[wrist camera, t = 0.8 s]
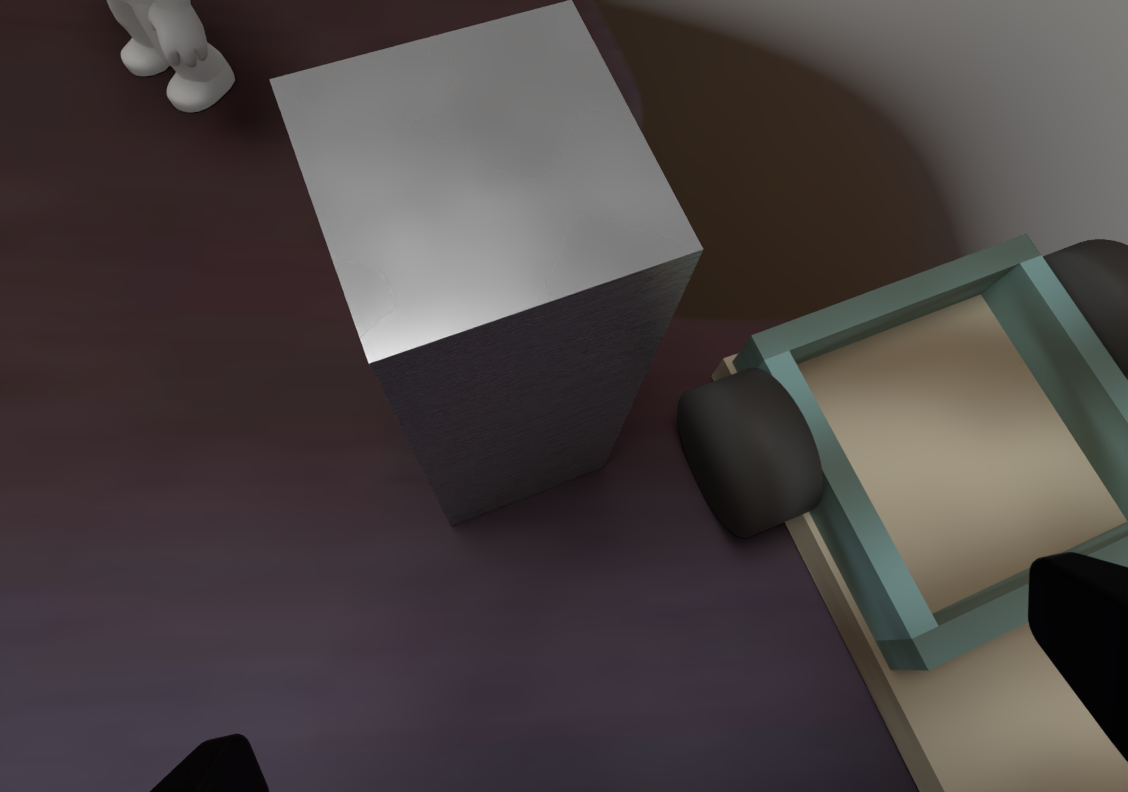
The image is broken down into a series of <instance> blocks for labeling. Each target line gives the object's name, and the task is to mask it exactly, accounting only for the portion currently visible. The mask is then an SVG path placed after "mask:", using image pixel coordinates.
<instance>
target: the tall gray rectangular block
mask: <svg viewBox="0 0 1128 792" xmlns="http://www.w3.org/2000/svg"><path fill="white" fill-rule="evenodd" d="M269 80H270V83H271V86H272V88H273V91H274V94H275V97H276V100H277V103H278V106H279V108H280V111H281V114H282V117H283V120H284V123H285V126H286V128H287V131H288V134H289V137H290V140H291V143H292V146H293V148H294V151H295V154H296V157H297V160H298V163H299V166H300V168H301V171H302V174H303V177H304V180H305V183H306V186H307V188H308V191H309V194H310V197H311V200H312V203H313V206H314V208H315V211H316V214H317V217H318V220H319V223H320V226H321V228H322V231H323V234H324V237H325V240H326V243H327V246H328V248H329V251H330V254H331V257H332V260H333V263H334V266H335V268H336V271H337V274H338V277H339V280H340V283H341V286H342V289H343V291H344V294H345V297H346V300H347V303H348V306H349V309H350V311H351V314H352V317H353V320H354V323H355V326H356V329H357V331H358V334H359V337H360V340H361V343H362V346H363V349H364V351H365V354H366V357H367V360H368V363H369V365H370V367H371V369H372V371H373V373H374V375H375V377H376V379H377V381H378V383H379V385H380V387H381V389H382V391H383V393H384V395H385V397H386V399H387V401H388V403H389V405H390V407H391V409H392V411H393V413H394V415H395V417H396V419H397V421H398V423H399V425H400V427H401V429H402V431H403V433H404V435H405V436H406V438H407V440H408V442H409V444H410V446H411V448H412V450H413V452H414V454H415V456H416V458H417V460H418V462H419V464H420V466H421V468H422V470H423V472H424V474H425V476H426V478H427V480H428V482H429V484H430V486H431V488H432V490H433V492H434V494H435V496H436V498H437V500H438V502H439V504H440V506H441V508H442V510H443V512H444V514H445V516H446V518H447V520H448V522H449V524H450V526H451V527H452V526H454V525H457V524H459V523H462V522H464V521H467V520H470V519H472V518H475V517H477V516H480V515H482V514H485V513H487V512H490V511H493V510H495V509H498V508H500V507H503V506H505V505H508V504H511V503H513V502H516V501H518V500H521V499H523V498H526V497H528V496H531V495H534V494H536V493H539V492H541V491H544V490H546V489H549V488H551V487H554V486H557V485H559V484H562V483H564V482H567V481H569V480H572V479H575V478H577V477H580V476H582V475H585V474H587V473H590V472H592V471H595V470H598V469H600V468H603V467H604V465H605V463H606V461H607V459H608V457H609V454H610V452H611V450H612V448H613V446H614V444H615V441H616V439H617V437H618V435H619V433H620V430H621V428H622V426H623V424H624V422H625V419H626V417H627V415H628V413H629V411H630V408H631V406H632V404H633V402H634V400H635V398H636V395H637V393H638V391H639V389H640V387H641V384H642V382H643V380H644V378H645V376H646V373H647V371H648V369H649V367H650V365H651V362H652V360H653V358H654V356H655V354H656V351H657V349H658V347H659V345H660V343H661V341H662V338H663V336H664V334H665V332H666V330H667V327H668V325H669V323H670V321H671V319H672V316H673V314H674V312H675V310H676V308H677V305H678V303H679V301H680V299H681V297H682V294H683V292H684V290H685V288H686V286H687V283H688V281H689V279H690V277H691V275H692V273H693V270H694V268H695V266H696V264H697V262H698V259H699V257H700V255H701V253H702V251H703V248H702V246H701V244H700V242H699V241H698V239H697V237H696V235H695V233H694V231H693V230H692V227H691V225H690V224H689V222H688V220H687V218H686V216H685V214H684V212H683V210H682V208H681V206H680V205H679V203H678V201H677V199H676V197H675V195H674V193H673V191H672V190H671V187H670V186H669V184H668V182H667V180H666V178H665V176H664V174H663V172H662V170H661V169H660V167H659V165H658V163H657V161H656V159H655V157H654V155H653V154H652V151H651V150H650V148H649V146H648V144H647V142H646V140H645V138H644V136H643V134H642V133H641V131H640V129H639V127H638V125H637V123H636V121H635V119H634V117H633V115H632V114H631V112H630V110H629V108H628V106H627V104H626V102H625V100H624V98H623V97H622V95H621V93H620V91H619V89H618V87H617V85H616V83H615V81H614V79H613V78H612V76H611V74H610V72H609V70H608V68H607V66H606V64H605V62H604V61H603V59H602V57H601V55H600V53H599V51H598V49H597V47H596V45H595V43H594V42H593V40H592V38H591V36H590V34H589V32H588V30H587V28H586V26H585V25H584V23H583V21H582V19H581V17H580V15H579V13H578V11H577V9H576V7H575V6H574V4H573V2H572V0H569V1H565V2H561V3H557V4H554V5H550V6H546V7H542V8H538V9H535V10H531V11H527V12H523V13H519V14H516V15H512V16H508V17H504V18H500V19H497V20H493V21H489V22H485V23H482V24H478V25H474V26H470V27H466V28H463V29H459V30H455V31H451V32H447V33H444V34H440V35H436V36H432V37H428V38H425V39H421V40H417V41H413V42H409V43H406V44H402V45H398V46H394V47H391V48H387V49H383V50H379V51H375V52H372V53H368V54H364V55H360V56H356V57H353V58H349V59H345V60H341V61H337V62H334V63H330V64H326V65H322V66H318V67H315V68H311V69H307V70H303V71H299V72H296V73H292V74H288V75H284V76H281V77H277V78H273V79H269Z"/></svg>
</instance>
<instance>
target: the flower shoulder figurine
mask: <svg viewBox="0 0 1128 792" xmlns="http://www.w3.org/2000/svg"><path fill="white" fill-rule="evenodd" d="M107 3H108V5H109V8H110V9H111V11H112V13H113V15H114V16H115V18H116V20H117V21H118V22H119V23H120V24H121V25H122V26H123V27H124V28H125V29H126V30H127V31H128V33H129V34H130V35H131V36H132V39H131V40H130V41H129V42H128V43H127V44H126V46H125V47H124V48H123V49H122V51H121V58H122V61H123V63H124V65H125V66H126V67H127V68H128V70H129V71H130V72H131V73H133V74H134V75H136V76H152V75H155V74H158V73H160V72H163V71H165V70H166V69H167V68H168V67H169V66H171V67H172V68H173V69H174V70H175V71H176V73H175V74H174V76H173V77H172V79H171V80H170V82H169V84H168V87H167V97H168V98H169V100H170V101H171V103H172V104H173V105H174V107H176V108H177V109H178V110H181V111H184V112H190V113H191V112H199V111H201V110H204V109H206V108H208V107H210V106H211V105H213V104H215V103H216V102H217V101H218V100H219V99H220V98H221V97H222V96H223V95H224V94H225V93H226V92H227V91H228V90H229V89H230V88H231V86H232V85H233V83H234V81H235V76H234V73H233V71H232V69H231V67H230V66H229V64H228V63H227V61H226V60H225V58H224V57H223V56H222V54H221V53H220V52H219V51H218V50H217V49H215V48H214V47H213V46H212V45H210V44H209V43H207V41H206V36H205V32H204V28H203V25H202V23H201V21H200V20H199V18H198V16H197V14H196V12H195V11H194V9H193V7H192V6H191V2H190V0H107Z"/></svg>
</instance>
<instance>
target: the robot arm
mask: <svg viewBox="0 0 1128 792" xmlns="http://www.w3.org/2000/svg"><path fill="white" fill-rule="evenodd" d="M1028 622H1029V627H1030V630H1031V632H1032V634H1033V636H1034V638H1035V640H1036V641H1037V643H1038V644H1039V646H1040V647H1041V648H1042V650H1043V651H1044V652H1045V654H1046V655H1047V656H1048V658H1049V659H1050V660H1051V662H1052V663H1053V664H1054V666H1055V667H1056V669H1057V670H1058V671H1059V673H1060V674H1061V675H1062V677H1063V678H1064V679H1065V681H1066V682H1067V683H1068V685H1069V686H1070V687H1071V689H1072V690H1073V691H1074V693H1075V694H1076V695H1077V697H1078V698H1079V699H1080V701H1081V702H1082V703H1083V705H1084V706H1085V707H1086V709H1087V710H1088V711H1089V713H1090V714H1091V715H1092V717H1093V718H1094V719H1095V721H1096V722H1097V724H1098V725H1099V726H1100V728H1101V729H1102V730H1103V732H1104V733H1105V734H1106V736H1107V737H1108V738H1109V740H1110V741H1111V742H1112V743H1113V745H1114V746H1115V747H1116V749H1117V750H1118V751H1119V752H1120V754H1121V755H1122V756H1123V757H1124V759H1125V760H1126V761H1127V762H1128V567H1125V566H1122V565H1118V564H1115V563H1111V562H1108V561H1104V560H1101V559H1097V558H1094V557H1090V556H1087V555H1083V554H1079V553H1076V552H1062V553H1057V554H1053V555H1048V556H1043V557H1039V558H1037V559H1035V560H1034V561H1033V562H1032V564H1031V566H1030V569H1029V592H1028ZM150 792H269V789H268V786H267V783H266V781H265V778H264V776H263V774H262V771H261V769H260V766H259V764H258V762H257V759H256V757H255V754H254V752H253V750H252V747H251V745H250V743H249V741H248V739H247V738H246V737H245V736H243V735H241V734H233V735H228V736H224V737H219V738H214V739H210V740H207V741H205V742H203V743H201V744H200V745H199V746H198V747H197V748H196V749H194V750H193V751H192V752H191V753H190V754H189V755H188V756H187V757H186V758H185V759H184V760H183V761H182V762H181V763H180V764H179V765H177V766H176V767H175V768H174V769H173V770H172V771H171V772H170V773H169V774H168V775H167V776H166V777H165V778H164V779H163V780H162V781H160V782H159V783H158V784H157V785H156V786H155V787H154V788H153V789H152V790H151V791H150Z"/></svg>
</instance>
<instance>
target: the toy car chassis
mask: <svg viewBox="0 0 1128 792" xmlns="http://www.w3.org/2000/svg"><path fill="white" fill-rule="evenodd" d="M1126 376H1128V245H1126V244H1123V243H1120V242H1116V241H1111V240H1104V239H1103V240H1102V239H1101V240H1100V239H1095V240H1087V241H1084V242H1080V243H1077V244H1075V245H1072V246H1069V247H1067V248H1064V249H1062V250H1059V251H1056V252H1054V253H1051V254H1049V255H1046V256H1043V257H1042V255H1041V254H1040V252H1039V251H1038V250H1037V248H1036V247H1035V245H1034V244H1033V242H1032V241H1031V240H1030V238H1029V236H1028V235H1027V234H1024V235H1022V236H1019V237H1016V238H1013V239H1011V240H1008V241H1006V242H1003V243H1000V244H997V245H995V246H992V247H989V248H986V249H984V250H981V251H979V252H976V253H973V254H970V255H968V256H965V257H963V258H960V259H957V260H954V261H951V262H949V263H946V264H943V265H941V266H938V267H935V268H933V269H930V270H927V271H924V272H922V273H919V274H916V275H914V276H911V277H908V278H905V279H903V280H900V281H897V282H895V283H892V284H890V285H887V286H884V287H881V288H878V289H876V290H873V291H870V292H868V293H865V294H863V295H860V296H857V297H854V298H851V299H849V300H846V301H843V302H841V303H838V304H835V305H833V306H830V307H827V308H825V309H822V310H819V311H816V312H814V313H811V314H808V315H805V316H803V317H800V318H797V319H795V320H792V321H789V322H787V323H784V324H781V325H778V326H776V327H773V328H770V329H768V330H765V331H762V332H760V333H757V334H754V335H751V337H750V338H749V339H748V341H747V342H746V344H745V345H744V346H743V348H742V349H741V350H740V352H739V353H737V354H735V355H732V356H729V357H727V358H724V359H723V360H722V361H721V363H720V364H719V366H718V367H717V369H716V370H715V372H714V373H713V374H712V376H711V377H712V379H713V382H711V383H708V384H705V385H703V386H700V387H697V388H695V389H692V390H689V391H687V392H685V393H683V394H682V396H681V397H680V399H679V403H678V425H679V432H680V436H681V441H682V445H683V448H684V451H685V455H686V458H687V460H688V463H689V466H690V468H691V471H692V473H693V476H694V478H695V480H696V482H697V484H698V486H699V488H700V490H701V492H702V494H703V496H704V497H705V499H706V501H707V503H708V504H709V506H710V507H711V509H712V510H713V512H714V513H715V514H716V516H717V517H718V518H719V520H720V521H721V522H722V523H723V524H724V525H725V526H726V527H727V528H728V529H729V530H730V531H731V532H732V533H734V534H735V535H737V536H739V537H742V538H748V537H751V536H753V535H755V534H758V533H760V532H762V531H765V530H767V529H769V528H772V527H774V526H776V525H779V524H781V523H783V522H785V524H786V526H787V528H788V530H789V532H790V534H791V536H792V538H793V540H794V542H795V544H796V546H797V548H798V550H799V552H800V554H801V556H802V558H803V560H804V562H805V564H806V566H807V568H808V570H809V572H810V574H811V576H812V578H813V580H814V582H815V584H816V586H817V588H818V590H819V592H820V594H821V596H822V598H823V600H824V602H825V604H826V606H827V608H828V610H829V612H830V614H831V616H832V618H833V620H834V622H835V624H836V626H837V628H838V630H839V632H840V634H841V636H842V638H843V640H844V642H845V644H846V646H847V648H848V650H849V652H850V654H851V656H852V658H853V660H854V662H855V664H856V666H857V668H858V670H859V672H860V674H861V676H862V678H863V680H864V682H865V684H866V686H867V688H868V690H869V692H870V694H871V696H872V698H873V700H874V702H875V704H876V706H877V708H878V710H879V712H880V714H881V716H882V718H883V720H884V722H885V724H886V726H887V728H888V730H889V732H890V734H891V736H892V738H893V740H894V742H895V744H896V746H897V748H898V750H899V752H900V754H901V756H902V758H903V759H904V761H905V763H906V765H907V767H908V769H909V771H910V773H911V775H912V777H913V779H914V781H915V783H916V785H917V787H918V789H919V791H920V792H1128V762H1127V761H1126V760H1125V759H1124V757H1123V756H1122V755H1121V754H1120V752H1119V751H1118V750H1117V749H1116V747H1115V746H1114V745H1113V743H1112V742H1111V741H1110V740H1109V738H1108V737H1107V736H1106V734H1105V733H1104V732H1103V730H1102V729H1101V728H1100V726H1099V725H1098V724H1097V722H1096V721H1095V719H1094V718H1093V717H1092V715H1091V714H1090V713H1089V711H1088V710H1087V709H1086V707H1085V706H1084V705H1083V703H1082V702H1081V701H1080V699H1079V698H1078V697H1077V695H1076V694H1075V693H1074V691H1073V690H1072V689H1071V687H1070V686H1069V685H1068V683H1067V682H1066V681H1065V679H1064V678H1063V677H1062V675H1061V674H1060V673H1059V671H1058V670H1057V669H1056V667H1055V666H1054V664H1053V663H1052V662H1051V660H1050V659H1049V658H1048V656H1047V655H1046V654H1045V652H1044V651H1043V650H1042V648H1041V647H1040V646H1039V644H1038V643H1037V641H1036V640H1035V638H1034V636H1033V634H1032V632H1031V630H1030V627H1029V622H1028V592H1029V569H1030V566H1031V564H1032V562H1033V561H1034V560H1035V559H1037V558H1039V557H1043V556H1048V555H1053V554H1057V553H1062V552H1076V553H1079V554H1083V555H1087V556H1090V557H1094V558H1097V559H1101V560H1104V561H1108V562H1111V563H1115V564H1118V565H1122V566H1125V567H1128V380H1127V379H1126V378H1125V377H1126Z"/></svg>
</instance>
